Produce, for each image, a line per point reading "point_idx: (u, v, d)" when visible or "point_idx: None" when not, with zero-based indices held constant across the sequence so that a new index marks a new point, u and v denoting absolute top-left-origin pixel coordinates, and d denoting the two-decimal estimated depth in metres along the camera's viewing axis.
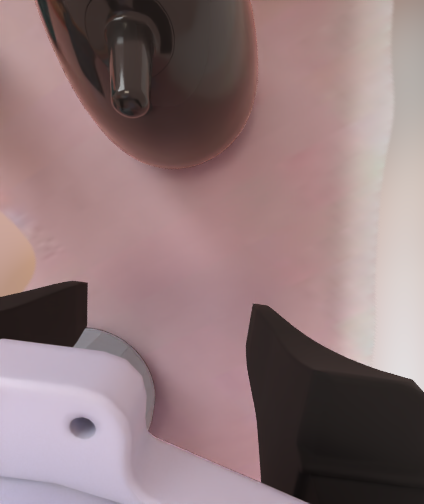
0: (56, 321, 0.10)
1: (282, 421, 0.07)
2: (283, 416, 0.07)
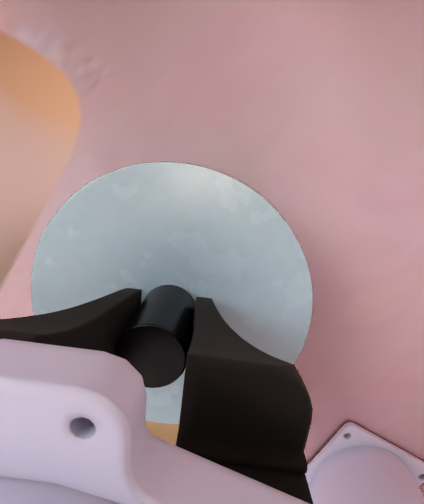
0: (121, 329, 0.10)
1: None
2: None
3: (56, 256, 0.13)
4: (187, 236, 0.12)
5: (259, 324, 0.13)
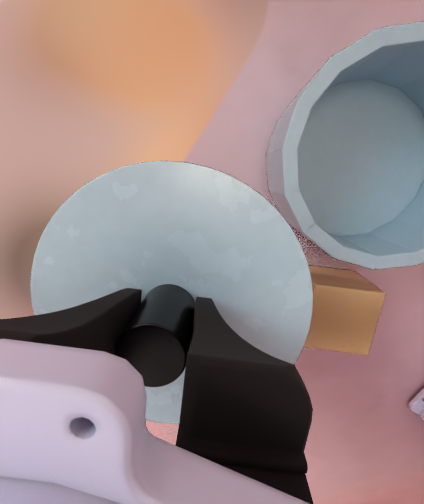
0: (121, 329, 0.10)
1: None
2: None
3: (56, 255, 0.13)
4: (187, 235, 0.12)
5: (259, 324, 0.13)
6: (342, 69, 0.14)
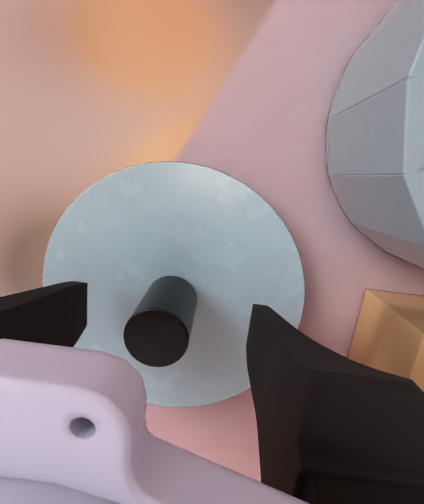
0: (56, 321, 0.10)
1: (282, 421, 0.07)
2: (283, 416, 0.07)
3: (66, 249, 0.14)
4: (188, 230, 0.13)
5: None
6: None
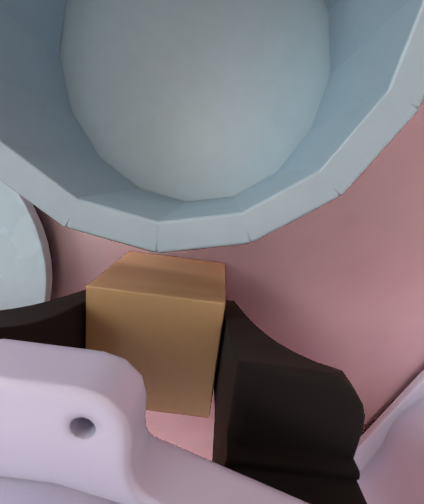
0: None
1: (223, 414, 0.07)
2: (224, 409, 0.07)
3: None
4: None
5: None
6: None
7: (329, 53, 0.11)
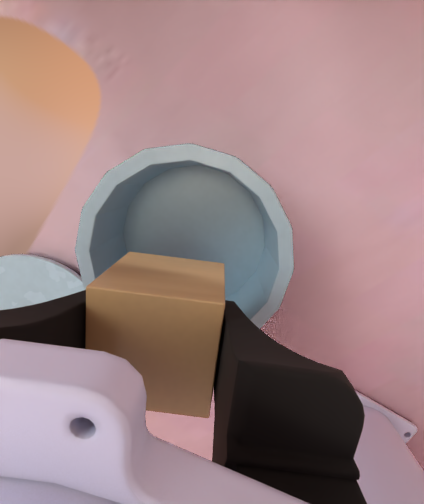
0: None
1: (223, 414, 0.07)
2: (224, 409, 0.07)
3: None
4: (34, 294, 0.22)
5: None
6: (117, 183, 0.15)
7: (264, 235, 0.21)
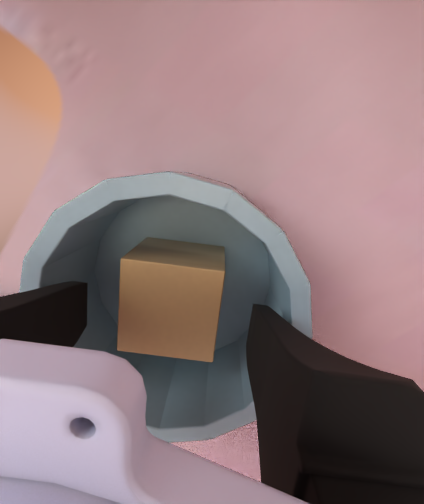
0: (56, 321, 0.10)
1: (282, 421, 0.07)
2: (283, 416, 0.07)
3: None
4: None
5: None
6: (70, 226, 0.11)
7: (269, 274, 0.17)
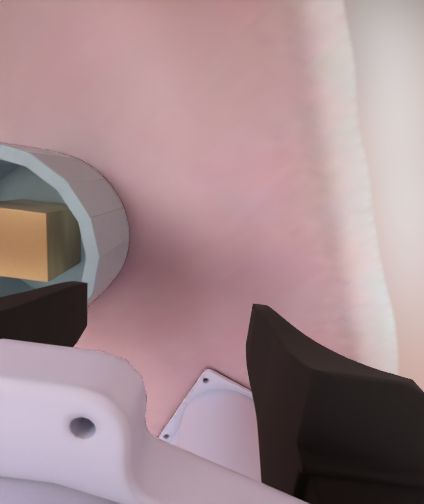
0: (56, 321, 0.10)
1: (282, 421, 0.07)
2: (283, 416, 0.07)
3: None
4: None
5: None
6: None
7: None
